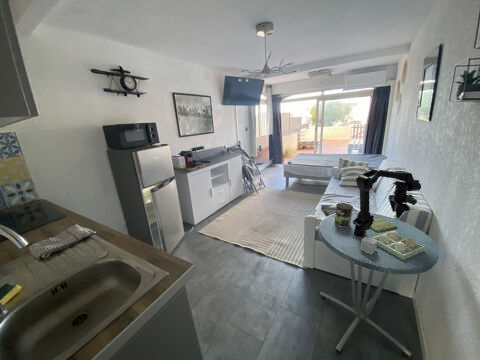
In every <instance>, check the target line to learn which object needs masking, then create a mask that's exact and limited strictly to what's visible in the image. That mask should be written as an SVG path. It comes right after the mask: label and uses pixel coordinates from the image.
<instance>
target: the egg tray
mask: <svg viewBox="0 0 480 360" xmlns="http://www.w3.org/2000/svg"><path fill="white" fill-rule="evenodd" d="M391 231H392V230H388V231H387V232H386V231H385V232H384V233H382V234H386V235H388V236H389V234H390V232H391ZM382 234H378V235H375V236H372V237H371V238H373V239H375V240H378V243H377V247H379V248H380V249H382V250H385V251H386V252H388V253H389V254H391V255H394V256H395V257H396V258H398V259H400V260H403V261H405V260H407V259H409V258H412V257H414V256H416V255H418V254H421V253H423V252H424V251H425V249H426V247H425V246H424V245H422V244H419V242H418V243H417V242H416V244H415V248H414V250H412V249H410V248H408V247H406V249H405V253H404V254H402V253H400V252H398V251H396V250H395V245H396V243H397V242H403V243H404V244H405V240H406V239H407V238H408V237H404V236H402V235H400V234H399V237H398V241H397V242H396V241H394V240H392V239H390V238H389V243H388V245H385V244H383V243H381V242H379V240H380V236H381V235H382Z"/></svg>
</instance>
